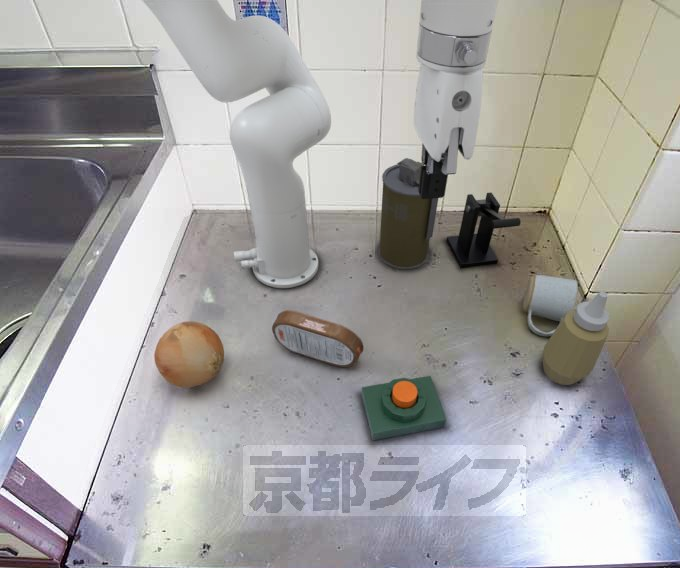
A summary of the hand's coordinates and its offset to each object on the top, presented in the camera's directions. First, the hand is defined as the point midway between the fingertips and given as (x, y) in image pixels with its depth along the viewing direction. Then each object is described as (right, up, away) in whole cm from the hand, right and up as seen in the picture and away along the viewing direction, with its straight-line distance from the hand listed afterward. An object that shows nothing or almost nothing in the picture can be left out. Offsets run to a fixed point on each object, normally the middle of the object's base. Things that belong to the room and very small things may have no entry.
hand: (430, 195), depth 63 cm
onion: (-36, -25, +11) cm, 45 cm away
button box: (-4, -31, +8) cm, 32 cm away
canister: (-2, -3, +34) cm, 34 cm away
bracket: (+12, -3, +35) cm, 37 cm away
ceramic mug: (+23, -16, +24) cm, 37 cm away
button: (-3, -28, +6) cm, 29 cm away
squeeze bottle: (+23, -26, +15) cm, 38 cm away
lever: (+14, +1, +24) cm, 27 cm away
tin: (-17, -23, +15) cm, 32 cm away
